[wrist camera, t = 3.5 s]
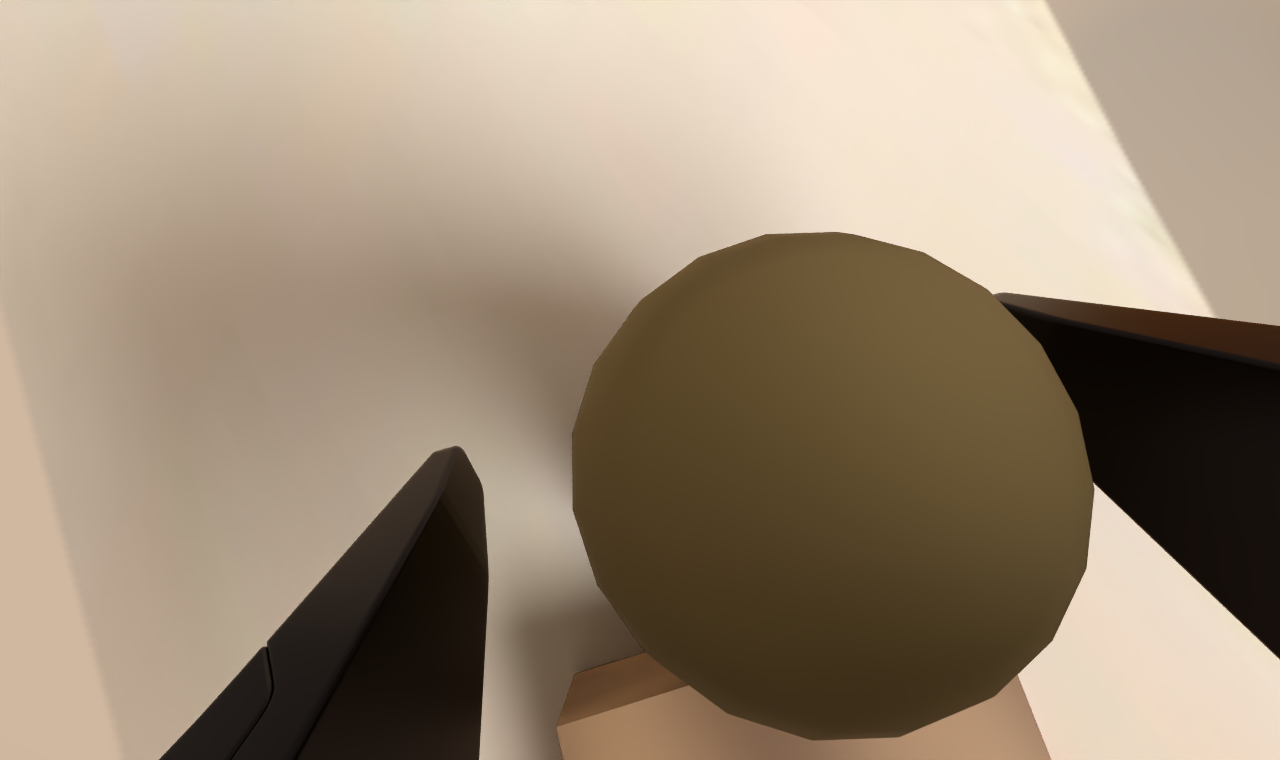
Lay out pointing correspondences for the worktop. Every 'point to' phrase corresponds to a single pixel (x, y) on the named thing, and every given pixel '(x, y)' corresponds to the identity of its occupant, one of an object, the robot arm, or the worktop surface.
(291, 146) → the worktop surface
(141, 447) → the worktop surface
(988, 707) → the base block
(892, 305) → the cork
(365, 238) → the worktop surface
